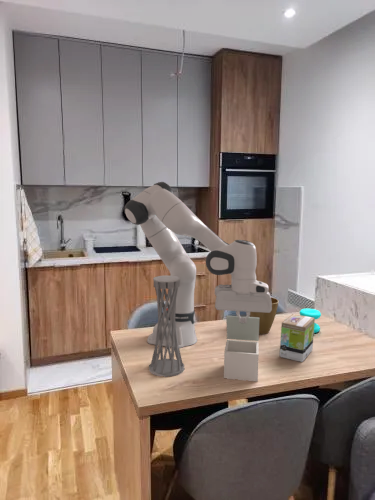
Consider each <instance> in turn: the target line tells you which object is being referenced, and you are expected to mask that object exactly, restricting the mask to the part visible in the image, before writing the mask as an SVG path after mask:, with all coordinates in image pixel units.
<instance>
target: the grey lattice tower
mask: <svg viewBox="0 0 375 500" xmlns="http://www.w3.org/2000/svg"><path fill="white" fill-rule="evenodd" d="M178 287H180V278H179V277H177V276H171V275H158V276H155V277H153V288H154V290H155V293H156V302H157V303H156V304H157V323H158V326H157V334H156V342H155V345H154V349H153V354H152V357H151V362H150V363H149V365H148V371H149V372H150V374H153V376H156V377H161V376H164V377H165V378H168V376H169V377H174V376H178V375H181V374H182V373H184V371H185V364H184V362H183V359H182V354H181V350H180V348H179V345H178V339H177V331H176V322H175V311H176V297H177V291H178ZM172 289H173V293H172ZM169 297H170V305H169ZM164 298H165V301H164ZM167 308H168V313H167V311H166V309H167ZM169 316H170V322H169ZM164 318H166V321H165V322H164ZM162 325H163V332H162ZM171 325H172V330H171ZM167 326H168V329H169V330H168V335H167V332H166V328H167ZM164 336H165V339H166V346H164V350H163V346H162V344H163V340H164ZM169 337H171V340H172V346H171V347H170V346H169ZM159 340H160V344H159V345H158V342H159ZM174 340H175V341H174ZM163 353H164V354H163ZM167 353H168V354H167ZM167 355H168V358H167Z"/></svg>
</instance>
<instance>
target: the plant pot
mask: <svg viewBox="0 0 375 500" xmlns="http://www.w3.org/2000/svg"><path fill="white" fill-rule="evenodd" d="M271 303H272V311H271V312H270V313H265V312H250V316H249V317H259V335H267V334H269V333H270V332H271V331H270V330H271V329H272V326H273V323H274V322H275V318H276V314H277V311H278V307H279V299H277V298H275V297H273V296H272V297H271Z"/></svg>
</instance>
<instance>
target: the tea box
mask: <svg viewBox="0 0 375 500" xmlns="http://www.w3.org/2000/svg"><path fill="white" fill-rule="evenodd" d="M315 320H316V319H315V318H313V317H307V316H301V315H300V314H295V313H292V314H291V315H290V316H288V317H287V318H286V319H284V320H283V321H282V322H281V327H280V328H281V329H280V331H281V332H280V343H279V357H281V358H284V359H287V360H292V361H296V362H302V363H303V362H304V361H305V359H306V358H307V357H308V356H309V355H310V354H311V352H312V351H313V347H314V334H315V333H314V323H315Z"/></svg>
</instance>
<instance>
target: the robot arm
mask: <svg viewBox="0 0 375 500" xmlns="http://www.w3.org/2000/svg"><path fill="white" fill-rule="evenodd" d="M123 211H124V215H125V216H126V218H127V219H128V220H129V222H130V223H131V224H133V225H137V226H140V227H141V228H140V229H142V232H143V233H144V236H145V237H146V238H147V240H148V241H149V243H150V245H151V246H152V247H153V249H154V250H155V253H156V254H157V255H158V257H159V258H160V260H161V261H162V263H163V264H164V265H165V267H166V269H167V270H168V271H169V274H170V275H169V276H177V277H179V278H180V287H178V291H177V297H176V311H175V322H176V331H177V339H178V345H179V349H180V348H183V347H188V346H191V345H194V344H195V343H197V342H198V338H197V333H196V328H195V323H196V310H195V287H196V281H197V280H196V279H197V266H196V264H195V262H194V261H193V260H192V259H191V258H190V256H189V255H188V254H187V251H186V250H185V248H184V247H183V245H182V243H181V242H180V240H179V238H178V236H186V237H189V238H194V239H195V240H197V241H199V242H200V243H201V244H202V245H203V246H205V248H207V249H208V251H209V253H208V254H207V256H206V258H205V266H206V269H207V270H208V272H209V273H211V274H212V275H216V276H223V275H230V276H231V280H230V281H231V284H222V283H221V284H218V285H216V286H215V288H214V295H215V296H216V297H215V303H214V307H215V309H216V310H217V311H228V312H230V311H231V312H235V316H237V317H238V318H239V323H247V319H248V317H249V316H250V312H265V313H270V312H271V311H272V303H271V293H270V292H269V290H270V289H269V285H268V284H267V283H266V282H263V281H260V280H257V274H256V269H257V263H258V260H257V259H258V256H257V255H258V254H257V248H256V245H255V244H254V243H253V242H251V241H248V240H246V239H245V240H243V239H235V240H234V241H233V242H231V243H228V242H226V241H225V240H223V239H222V238H221V237H220V236H218V234H217V233H216V232H214V231H213V230H212V229H211V228H210V227H208V225H206V224H205V223H204V222H203V221H202V220H201V219H200V218H199V217H198V216H197V215H196V214H195V213H194V212H193V211H192V210H191V209H190V207H188V206H187V205H186V203H185V202H183V201H182V200H181V199H180V198H179V197H178V196H176V195H175V193H174V191H173V189H172V187H171V186H170V185H169V184H168V183H166V182H164V181H158V182H156V183H154V184H153V185H151V186H149V187H147V188H145V189H144V190H142V191H141V192H140V193H138V194H137V195H135V197H133V198H132V199H130V200H129V201H127V203H125V204H124V210H123ZM177 235H178V236H177ZM172 293H173V289H172ZM168 302H169V305H170V297H169V301H168ZM166 311H167V313H168V308H167V309H166ZM241 312H245V313H246V316H243V317H241V315H240V313H241ZM165 321H166V318H165V317H164V322H165ZM169 322H170V316H169ZM157 326H158V322H157V323H156V324H155V325H154V327H153V329H152V332H151V333H150V334H149V335H148V337H147V339H146V340H147V341H146V342H147V343H148V344H149V345H154V346H155V342H156V334H157ZM168 330H169V329H168V326H167V328H166V332H167V335H168ZM171 330H172V325H171ZM162 332H163V325H162ZM174 341H175V340H174ZM159 344H160V340H159V342H158V346H159ZM169 346H170V348H171V346H172V340H171V337H169ZM162 347H166V339H165V336H164V340H163V344H162Z"/></svg>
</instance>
